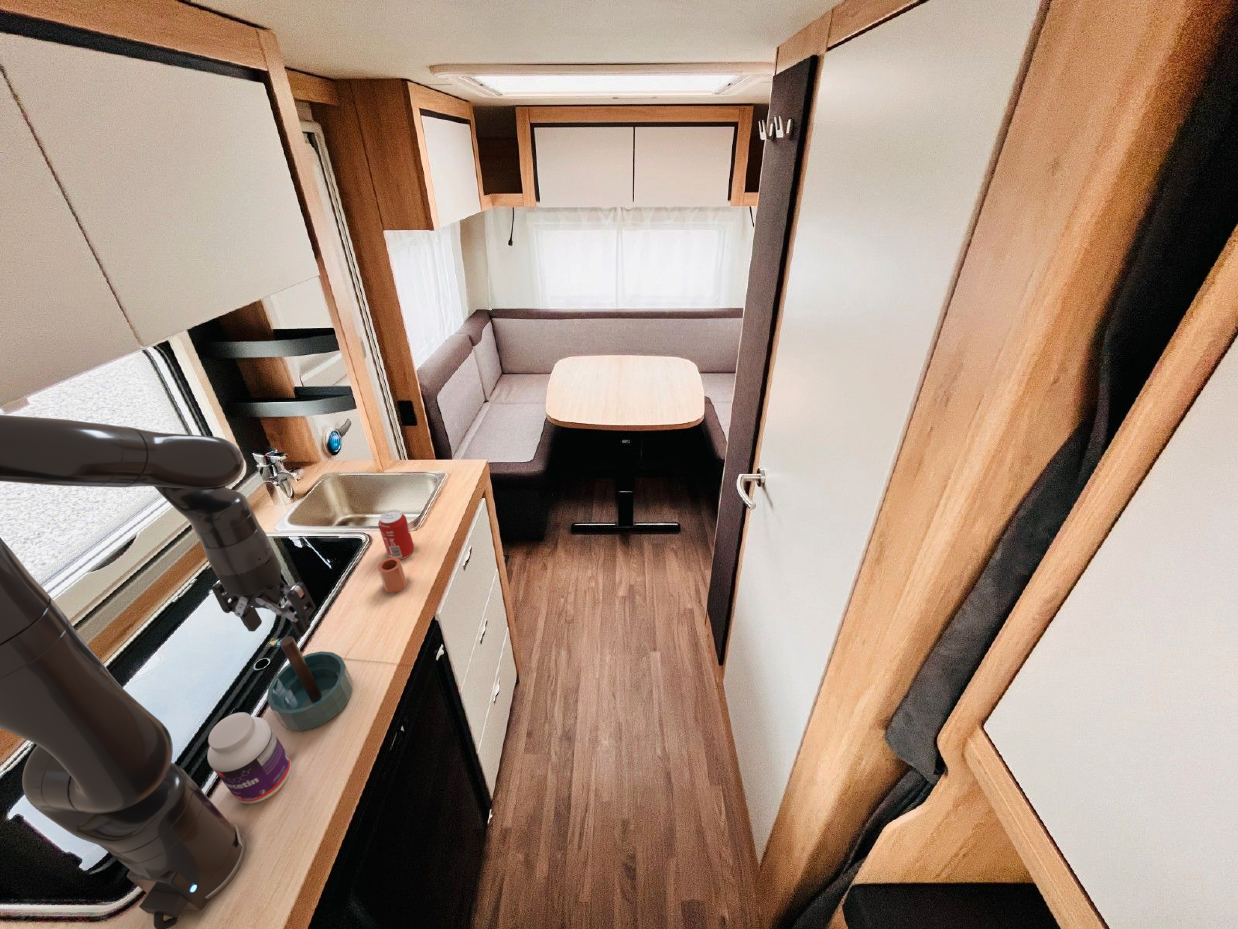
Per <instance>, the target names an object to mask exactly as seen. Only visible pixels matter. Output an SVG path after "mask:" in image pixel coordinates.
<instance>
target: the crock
mask: <svg viewBox="0 0 1238 929" xmlns="http://www.w3.org/2000/svg"><path fill="white" fill-rule="evenodd" d="M377 571H378V573H379V576H380V580H381V582H382V585H383V588H384V591H385V592H386V593H389V594H395V593H399V592H401V591H403V590H404V589H405V588H406V587H407V585H408V582H407V577H406V574H405V571H404V568H403V564H402V561H401V559H398V558H393V557H392V558H390V557H388V558H385V559H383V560H382V561H380V562H379V563H378V565H377Z"/></svg>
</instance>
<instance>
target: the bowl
mask: <svg viewBox="0 0 1238 929" xmlns="http://www.w3.org/2000/svg"><path fill="white" fill-rule="evenodd" d="M302 656H303V658H304V660H305V662H306V664H307V666H308V667H309V669H310V671H311V673H312V675H313V677H314V679H315V681H316V683H317V685H318V687H319V689H320V691H321V693H322V697H321V699H320V700H318V701H316V702H312V701H310V699H309V697H308V695H307V693H306V691H305V689H304V688H303V686H302V684H301V682H300V680H299V678H298V677H297V675H296V673H295V671H294V669H293V667H292V666H291V664H290V663H288V664H287V665H286V666H284V667H283V668H282V669H281V670H280V671H279V672H278V673H277V674H276V675H275V676H274V678H273V679H272V681H271V682H270V685H269V687H268V689H267V694H266V701H267V703H268V705H269V708H270V710H271V711H272V713H273V714H274V716H275V717H276V719H277V720H278V722H279V724H280V725H281V726H283V727H284V728H286V729H287V730H290V731H291V730H292V731H298V732H299V731H300V732H301V731H307V730H311V729H315V728H317V727H319V726H321V725H323V724H325V723H327V722H329V721H330V720H331V719H333V718H334V717H335V716H337V714H339V713H340V712H341V711H342V710H343V708H344V707H345V706H346V705H347V704H348V703H349V700H350V698H351V695H352V692H353V686H354V684H353V683H354V682H353V679H352V676H351V674H350V672H349V670H348V667H347V666H346V663H345V661H344V660H343V658H342V656H340V655H338V654H337V653H335V652H332V651H316V652H310V653H308V654H305V655H302Z"/></svg>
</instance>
